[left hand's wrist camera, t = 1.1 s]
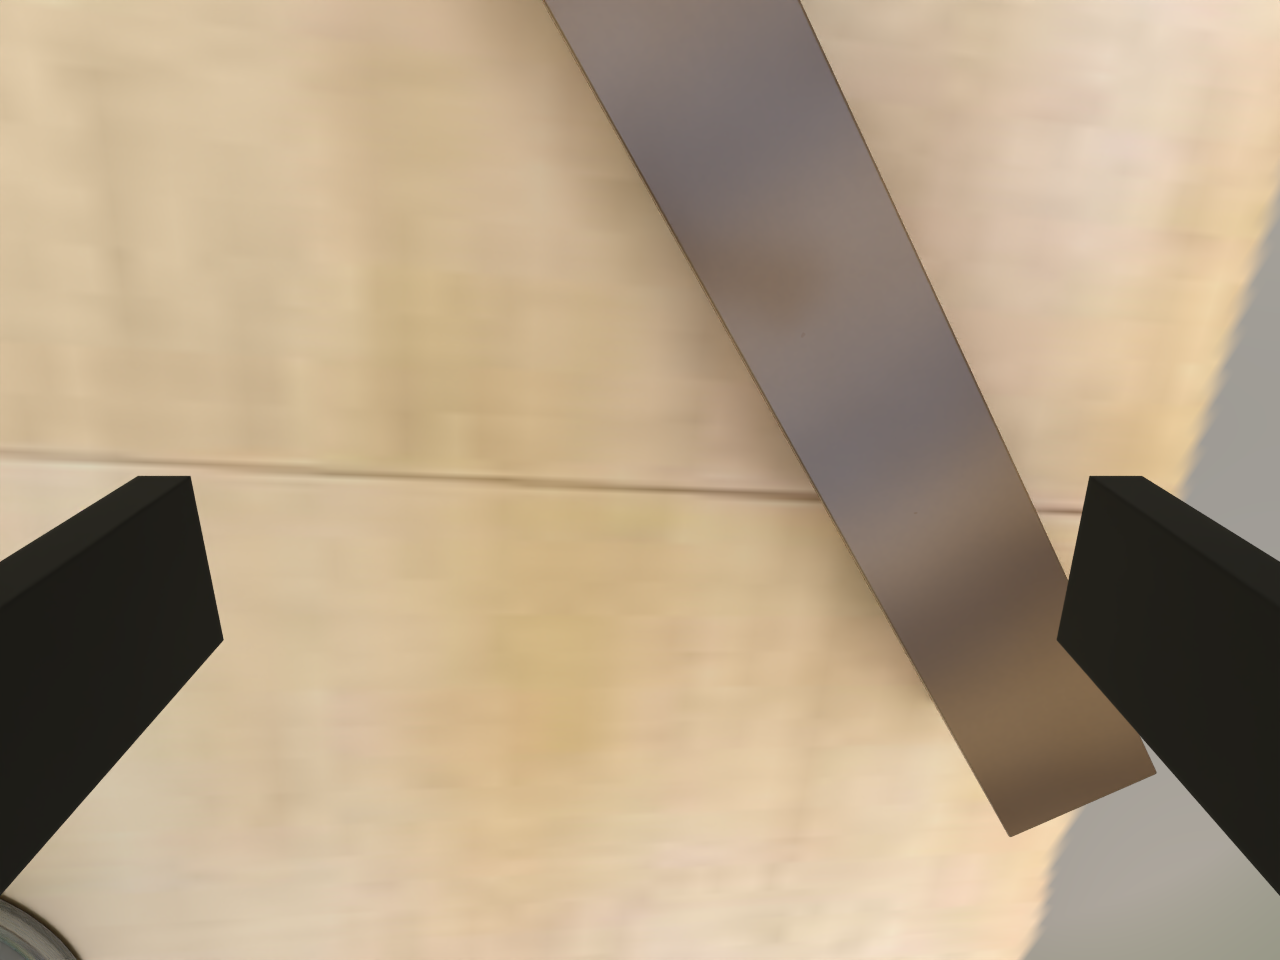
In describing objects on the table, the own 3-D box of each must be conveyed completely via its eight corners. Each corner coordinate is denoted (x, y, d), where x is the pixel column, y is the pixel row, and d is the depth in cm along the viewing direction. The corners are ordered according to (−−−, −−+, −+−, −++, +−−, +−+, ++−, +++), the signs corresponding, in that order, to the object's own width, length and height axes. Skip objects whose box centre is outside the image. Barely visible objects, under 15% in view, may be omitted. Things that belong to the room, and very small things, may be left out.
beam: (1049, 649, 37) (1157, 774, 30) (934, 703, 38) (1010, 838, 31) (299, -894, 21) (111, -1492, 14) (132, -734, 22) (-132, -1209, 15)
